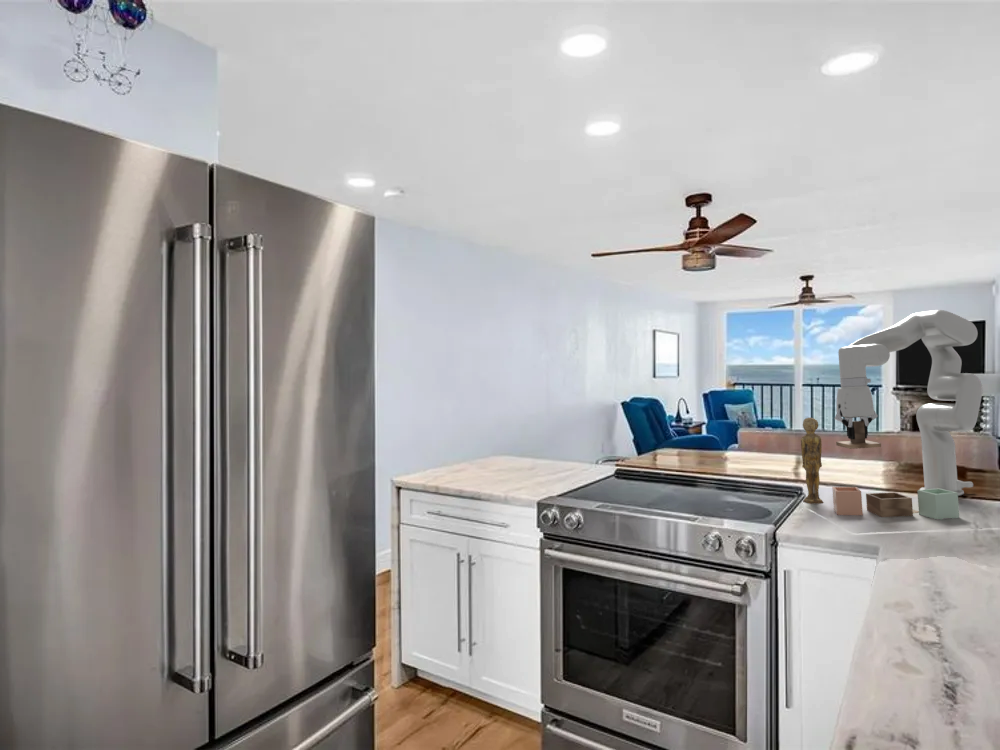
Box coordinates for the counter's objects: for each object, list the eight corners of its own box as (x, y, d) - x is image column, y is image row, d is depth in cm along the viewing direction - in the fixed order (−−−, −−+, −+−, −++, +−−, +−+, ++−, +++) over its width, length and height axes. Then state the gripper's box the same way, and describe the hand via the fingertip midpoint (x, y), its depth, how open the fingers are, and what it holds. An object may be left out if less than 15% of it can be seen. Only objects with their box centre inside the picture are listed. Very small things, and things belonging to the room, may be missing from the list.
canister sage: (940, 514, 187) (938, 488, 187) (959, 519, 180) (957, 492, 180) (919, 516, 186) (917, 490, 186) (937, 521, 179) (935, 494, 179)
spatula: (878, 505, 202) (878, 503, 202) (889, 504, 203) (888, 502, 203) (910, 515, 188) (910, 512, 188) (921, 514, 188) (921, 511, 188)
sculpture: (820, 501, 213) (814, 416, 213) (828, 505, 207) (822, 417, 207) (800, 502, 214) (794, 417, 214) (807, 506, 208) (801, 418, 208)
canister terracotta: (858, 511, 196) (856, 487, 196) (862, 517, 190) (861, 491, 190) (833, 511, 199) (832, 486, 199) (837, 516, 192) (835, 491, 192)
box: (896, 510, 194) (895, 492, 194) (913, 517, 185) (911, 498, 185) (867, 512, 195) (865, 493, 195) (881, 518, 186) (880, 499, 186)
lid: (865, 443, 206) (863, 419, 206) (881, 447, 197) (879, 421, 197) (836, 445, 207) (834, 421, 207) (850, 448, 198) (848, 423, 198)
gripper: (873, 381, 205) (877, 435, 205) (822, 384, 206) (826, 438, 206) (885, 381, 198) (889, 438, 198) (833, 385, 199) (837, 441, 199)
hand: (857, 437), depth 202 cm, fingers closed on lid, 3 cm apart
